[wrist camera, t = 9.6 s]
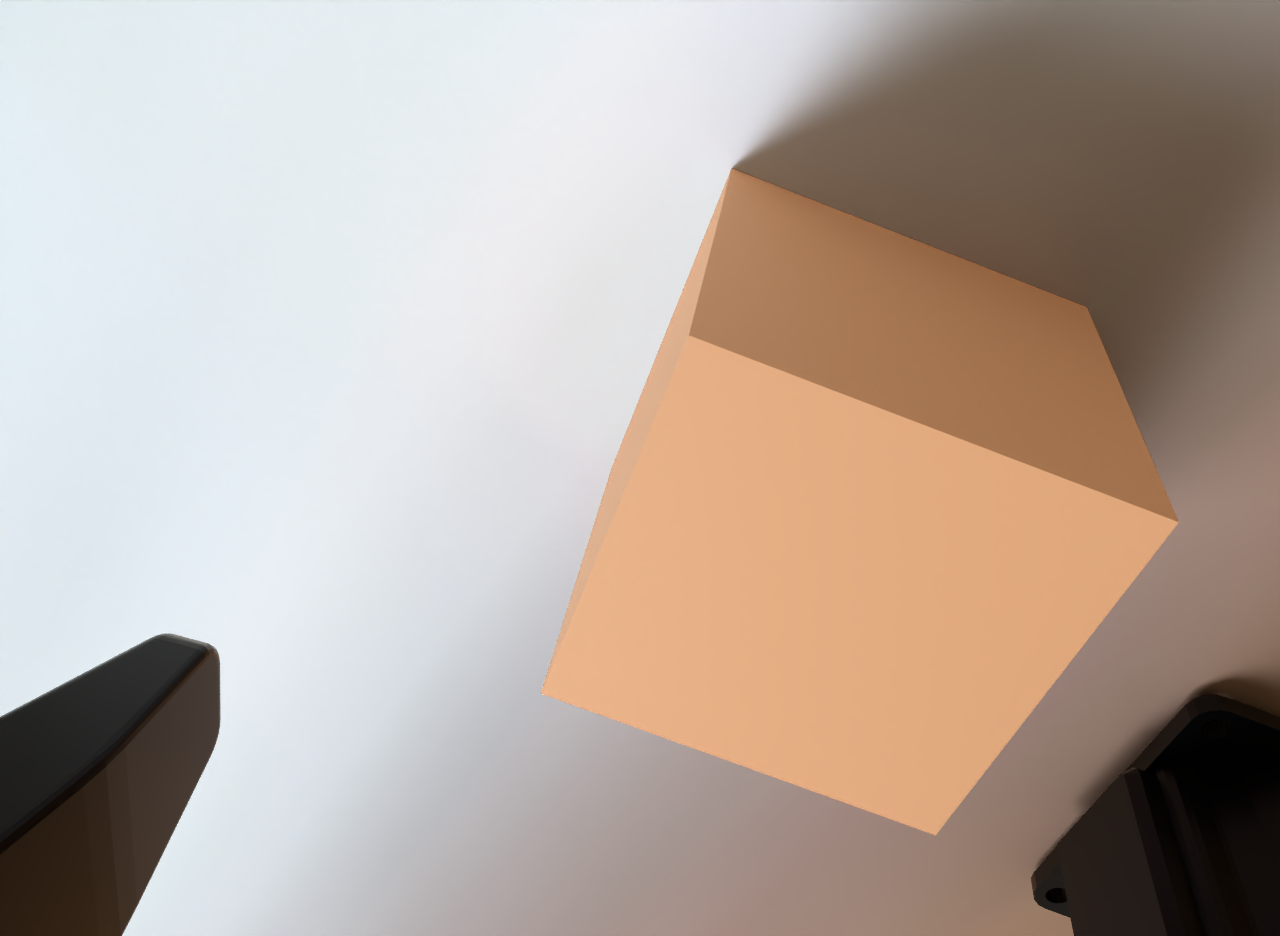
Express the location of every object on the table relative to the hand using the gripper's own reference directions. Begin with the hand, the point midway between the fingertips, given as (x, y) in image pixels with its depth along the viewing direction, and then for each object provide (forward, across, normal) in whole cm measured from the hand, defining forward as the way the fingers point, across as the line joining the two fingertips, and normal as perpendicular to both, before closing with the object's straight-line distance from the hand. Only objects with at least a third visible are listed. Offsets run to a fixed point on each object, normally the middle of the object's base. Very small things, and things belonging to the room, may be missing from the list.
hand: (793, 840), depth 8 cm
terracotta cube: (+12, -1, +2) cm, 12 cm away
